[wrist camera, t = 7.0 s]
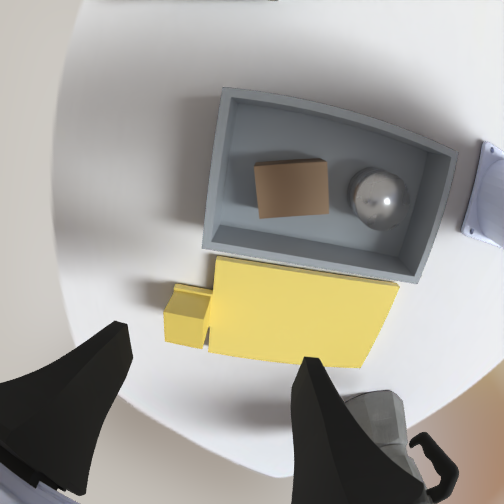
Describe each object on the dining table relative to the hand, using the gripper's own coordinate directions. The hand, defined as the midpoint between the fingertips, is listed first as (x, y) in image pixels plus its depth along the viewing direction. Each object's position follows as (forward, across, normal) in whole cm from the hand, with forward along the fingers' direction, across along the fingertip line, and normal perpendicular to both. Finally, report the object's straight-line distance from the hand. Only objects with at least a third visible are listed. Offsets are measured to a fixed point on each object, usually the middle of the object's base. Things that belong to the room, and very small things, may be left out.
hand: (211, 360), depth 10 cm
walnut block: (+10, -3, -6) cm, 12 cm away
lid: (+11, -4, +5) cm, 12 cm away
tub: (+10, -5, -6) cm, 13 cm away
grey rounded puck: (+10, -8, -6) cm, 14 cm away
